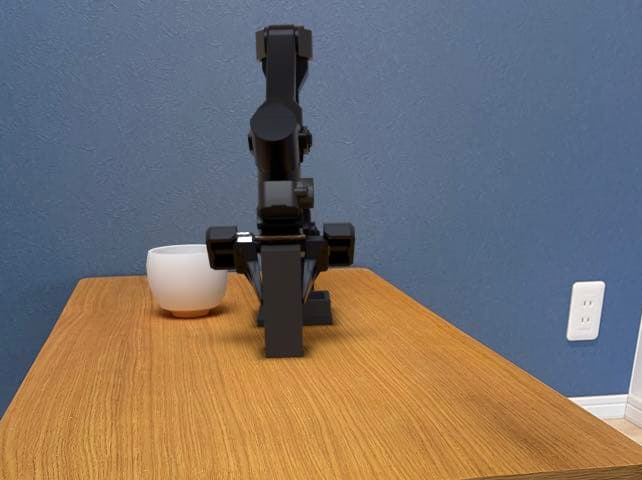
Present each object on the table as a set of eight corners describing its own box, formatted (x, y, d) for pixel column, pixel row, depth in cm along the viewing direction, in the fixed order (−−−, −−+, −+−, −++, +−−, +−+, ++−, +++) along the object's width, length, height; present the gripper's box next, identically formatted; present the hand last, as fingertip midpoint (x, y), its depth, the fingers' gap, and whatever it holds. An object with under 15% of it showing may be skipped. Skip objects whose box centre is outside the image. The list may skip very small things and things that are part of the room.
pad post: (266, 348, 113) (261, 245, 107) (302, 347, 113) (300, 244, 107) (265, 357, 108) (260, 250, 102) (303, 356, 108) (300, 249, 103)
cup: (136, 320, 131) (128, 254, 126) (174, 304, 141) (168, 242, 137) (208, 324, 127) (203, 256, 122) (242, 307, 137) (239, 244, 133)
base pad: (259, 311, 134) (258, 288, 133) (329, 309, 134) (329, 286, 133) (257, 326, 124) (256, 302, 123) (332, 324, 125) (332, 300, 123)
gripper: (200, 156, 103) (199, 264, 99) (354, 151, 104) (360, 260, 99) (210, 218, 114) (210, 319, 109) (350, 214, 114) (355, 314, 109)
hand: (282, 302), depth 106 cm, fingers closed on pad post, 5 cm apart
